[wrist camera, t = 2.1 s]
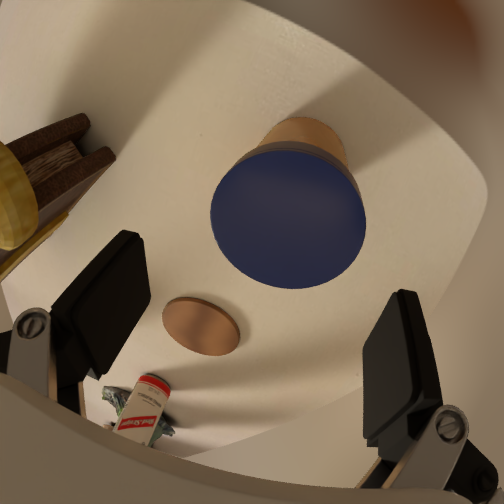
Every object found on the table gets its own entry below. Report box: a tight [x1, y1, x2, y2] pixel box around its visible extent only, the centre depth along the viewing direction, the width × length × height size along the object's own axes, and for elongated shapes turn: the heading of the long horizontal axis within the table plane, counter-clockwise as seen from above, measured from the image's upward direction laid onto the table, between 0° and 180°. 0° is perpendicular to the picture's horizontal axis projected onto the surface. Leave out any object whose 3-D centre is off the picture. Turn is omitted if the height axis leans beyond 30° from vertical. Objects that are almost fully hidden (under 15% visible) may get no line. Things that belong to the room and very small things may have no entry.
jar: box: [256, 117, 349, 170], centre depth 18 cm, size 6×6×10 cm
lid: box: [210, 141, 366, 289], centre depth 14 cm, size 7×7×2 cm
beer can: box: [112, 374, 170, 446], centre depth 42 cm, size 6×6×16 cm
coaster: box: [162, 298, 240, 356], centre depth 36 cm, size 10×10×1 cm
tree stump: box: [102, 387, 175, 448], centre depth 55 cm, size 18×20×18 cm
